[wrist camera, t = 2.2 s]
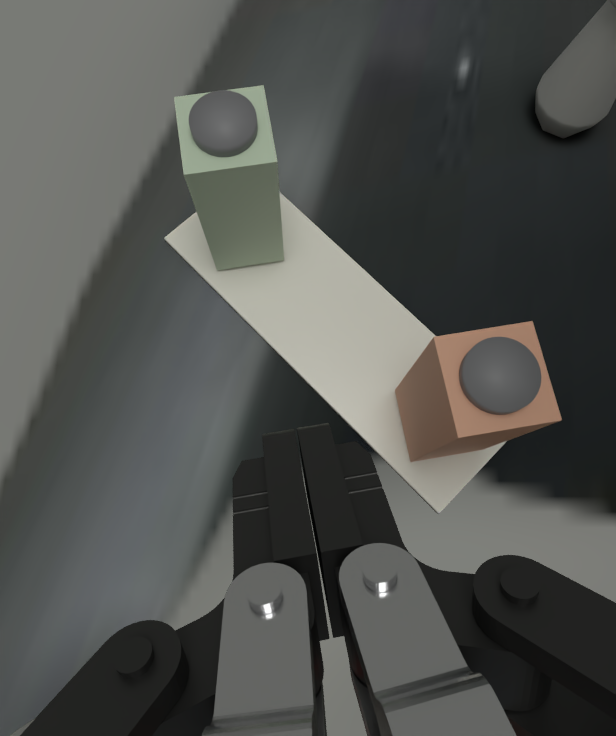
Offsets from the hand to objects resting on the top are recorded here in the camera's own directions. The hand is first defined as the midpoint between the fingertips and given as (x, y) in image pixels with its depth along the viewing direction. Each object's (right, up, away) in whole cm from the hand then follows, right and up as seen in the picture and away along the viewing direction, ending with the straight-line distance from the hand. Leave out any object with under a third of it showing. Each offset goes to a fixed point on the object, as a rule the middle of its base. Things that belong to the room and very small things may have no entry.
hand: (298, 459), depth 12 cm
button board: (+2, +5, +27) cm, 28 cm away
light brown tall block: (+9, -2, +26) cm, 27 cm away
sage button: (-4, +12, +29) cm, 32 cm away
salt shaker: (+21, +23, +33) cm, 45 cm away
